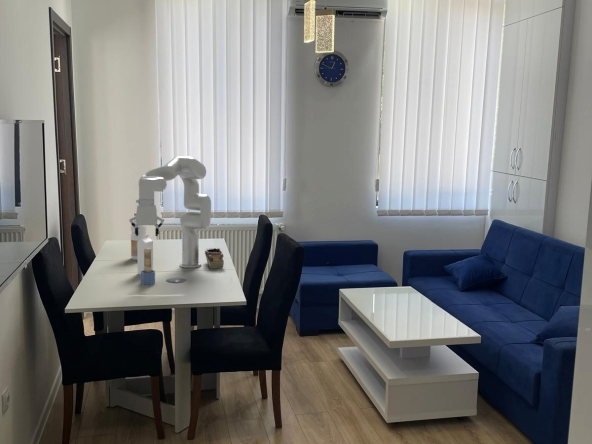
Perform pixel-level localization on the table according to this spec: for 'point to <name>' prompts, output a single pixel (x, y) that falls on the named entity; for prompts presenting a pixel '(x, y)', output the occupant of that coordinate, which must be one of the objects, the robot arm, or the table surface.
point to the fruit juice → (136, 238)
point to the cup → (147, 278)
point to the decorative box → (214, 258)
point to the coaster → (176, 280)
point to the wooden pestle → (147, 260)
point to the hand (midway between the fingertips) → (146, 235)
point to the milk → (142, 245)
